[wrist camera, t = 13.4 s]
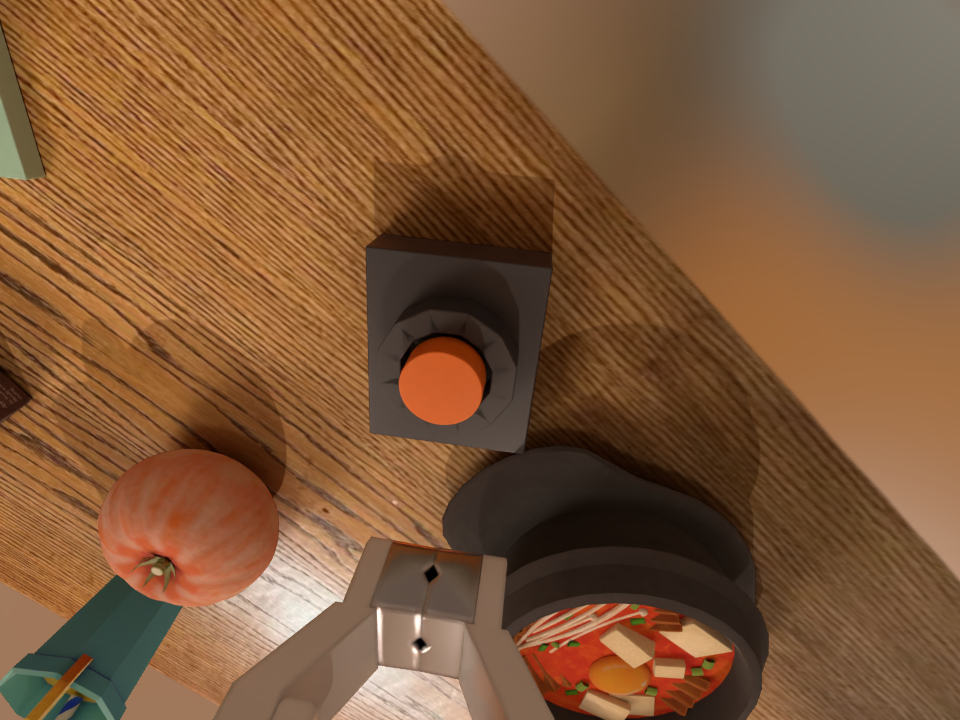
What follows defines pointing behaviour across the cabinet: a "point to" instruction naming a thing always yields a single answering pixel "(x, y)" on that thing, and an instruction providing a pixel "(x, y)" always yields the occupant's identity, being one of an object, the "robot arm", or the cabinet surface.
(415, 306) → the button housing
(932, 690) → the cabinet surface
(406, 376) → the button
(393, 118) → the cabinet surface
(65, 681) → the cup
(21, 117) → the lever stand
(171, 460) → the tomato
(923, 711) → the cabinet surface
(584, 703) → the casserole
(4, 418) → the box
